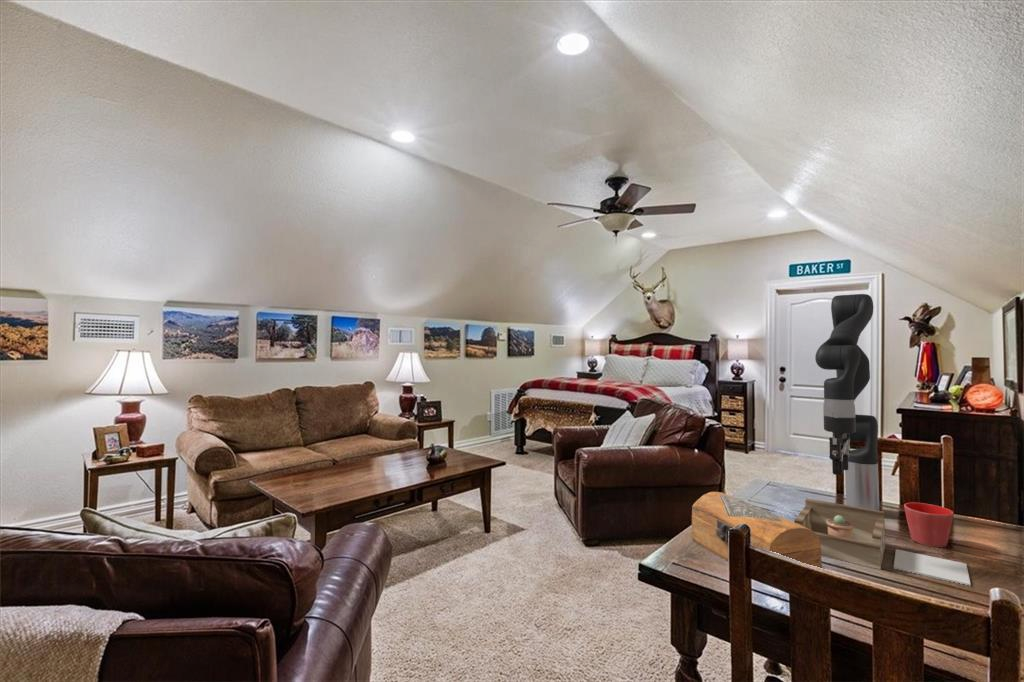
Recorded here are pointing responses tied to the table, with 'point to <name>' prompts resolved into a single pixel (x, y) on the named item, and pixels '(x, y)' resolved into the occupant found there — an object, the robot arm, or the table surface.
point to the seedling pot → (839, 527)
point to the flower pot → (929, 523)
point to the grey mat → (932, 567)
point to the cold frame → (865, 532)
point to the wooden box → (767, 529)
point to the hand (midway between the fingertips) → (840, 472)
